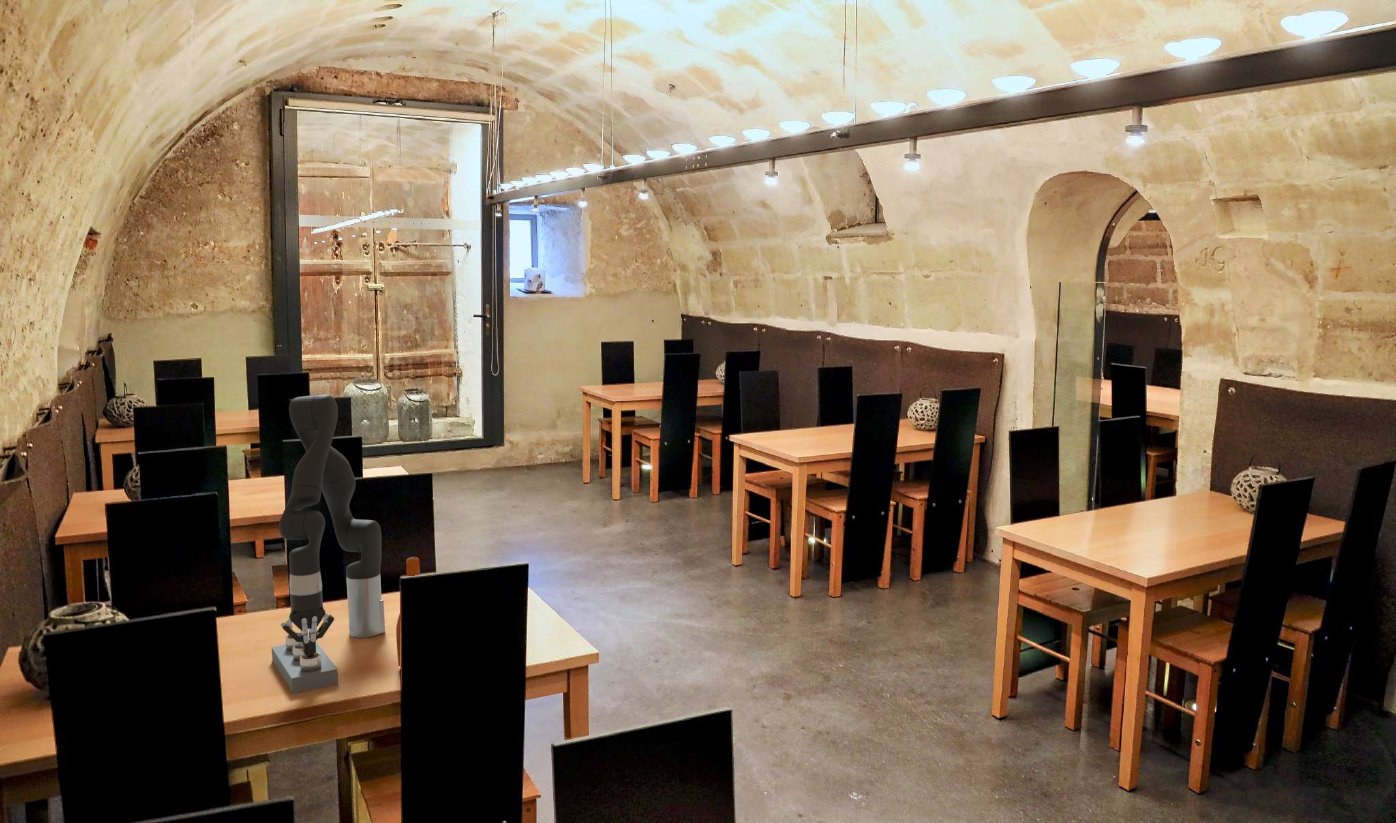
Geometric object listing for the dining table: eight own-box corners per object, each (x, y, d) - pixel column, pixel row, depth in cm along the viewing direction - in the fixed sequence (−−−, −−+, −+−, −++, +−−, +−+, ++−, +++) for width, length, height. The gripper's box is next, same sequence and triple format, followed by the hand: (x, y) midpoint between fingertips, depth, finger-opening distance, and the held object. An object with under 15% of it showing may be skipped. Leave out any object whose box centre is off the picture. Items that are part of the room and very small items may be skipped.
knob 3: (318, 662, 263) (318, 650, 263) (323, 668, 259) (322, 656, 259) (298, 666, 261) (297, 654, 260) (302, 673, 256) (302, 660, 256)
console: (315, 652, 281) (314, 638, 280) (338, 683, 260) (337, 668, 259) (272, 661, 275) (271, 647, 274) (292, 693, 254) (291, 678, 254)
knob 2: (311, 651, 270) (310, 640, 270) (315, 657, 266) (315, 646, 266) (291, 655, 268) (290, 644, 267) (295, 662, 263) (294, 650, 263)
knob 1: (304, 642, 277) (303, 630, 277) (308, 647, 273) (307, 636, 273) (284, 645, 275) (283, 634, 274) (288, 651, 271) (287, 640, 270)
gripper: (329, 581, 264) (333, 645, 266) (274, 590, 256) (279, 656, 259) (337, 588, 257) (340, 655, 260) (281, 598, 250) (285, 666, 253)
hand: (309, 655), depth 259 cm, fingers closed
